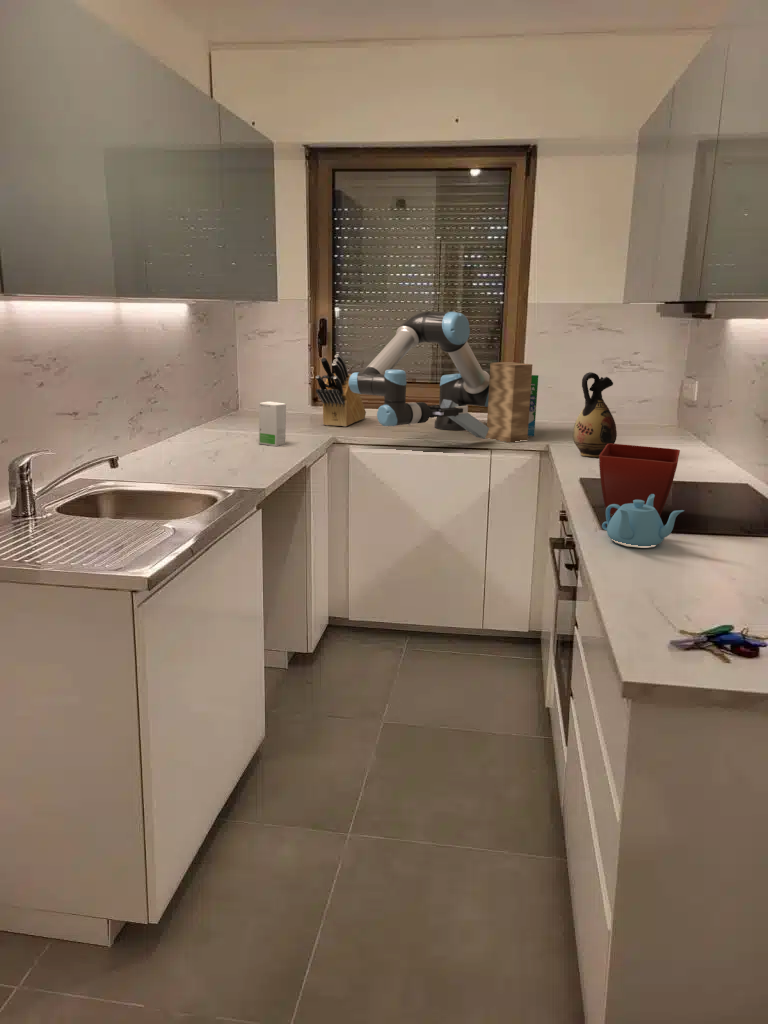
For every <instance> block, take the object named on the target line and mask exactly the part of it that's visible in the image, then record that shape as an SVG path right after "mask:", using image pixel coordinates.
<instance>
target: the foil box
mask: <svg viewBox="0 0 768 1024" xmlns="http://www.w3.org/2000/svg"><path fill="white" fill-rule="evenodd" d="M454 407H459V406H458V405H457V404H456V403H454V402H453V401H451V400H445V399H443V401H442V403H441V406H440V408H454ZM447 417H449V418H450V419H452V420H453V421H454V422H456V423H457V424H459V425H460V426H462V427H463V428H464V429H465V430H466V431H467V432H469V433H470V434H472V435H473V436H474V437H475V438H480V439H486V435H487V433H488V430H489V428H488V427H487V424H485V423H483V422H481V420H479V419H477V418H476V417H475V416H474V415H472V414H471V413H469V412H468V413H464V414H459V415H457V416H456V417H455V416H447Z"/></svg>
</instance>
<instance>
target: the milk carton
mask: <svg viewBox="0 0 768 1024" xmlns="http://www.w3.org/2000/svg"><path fill="white" fill-rule="evenodd" d="M538 385H539V375H537V374H532V379H531V394H530V408H529V423H528V437H535V432H536V431H535V429H536V428H535V427H536V417H537V415H536V414H537V399H538V387H539V386H538Z"/></svg>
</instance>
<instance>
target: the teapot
mask: <svg viewBox="0 0 768 1024" xmlns="http://www.w3.org/2000/svg"><path fill="white" fill-rule="evenodd" d="M654 497H655V495H654V494H651V495H649V497H648V499H647V502H646V505H645V504H644V503H645V501H643V500H633V503H628V504H623V505H622V506H619V505H617V504H611V505H609V506H608V507H607V508H606V509H605V520H606V521H604V522H603V523H602V524H601V528H602V529H603V531H606V534H607V536H608V537H610V538H611V539H613V540H615V541H618V542H622V543H626V544H631V545H638V546H651V545H657V544H659V543H660V544H661V543H662V542H663V541H664V540H665V538H667V537H668V536H670V535H671V533H672V531H673V530H674V527H675V522H676V518H677V517H678V515H680V514H682V513H683V512H685V509H684V510H683V509H680V510H679V509H678V510H673V511H672V512H671V513H670V514H669V517H668V519H667V522H666V524H664V523H663V521H662V517H661V515H660V516H659V514H658V512H657V511H656V509H655V508H654V507H653V501H654ZM612 507H614V508H617V509H618V510H617V511H616V512H615V514H614V515H613V516H610V509H611V508H612ZM610 538H609V539H610ZM611 539H610V540H611ZM660 544H659V545H660ZM657 546H658V545H657Z"/></svg>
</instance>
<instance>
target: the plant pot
mask: <svg viewBox="0 0 768 1024" xmlns="http://www.w3.org/2000/svg"><path fill="white" fill-rule="evenodd" d="M680 452H681V450H680V449H679V448H678V449H676V448H668V447H667V448H665V447H657V446H644V445H634V444H631V445H630V444H622V443H614V444H612V443H610V444H607V445H606V446H605V448H604V449H603V451H602V452H601V453H600V455H599V457H598V461H599V462H598V463H599V464H598V466H599V477H600V485H601V487H600V488H601V493H602V499H603V503H604V504H603V505H604V509H605V510H606V508H607V507H608V506H609V505H611V504H617V505H619V506H622V505H623V504H628V503H633V500H643V501H645V503H644V504H645V505H646V502H647V499H648V497H649V495H651V494H654V495H655V497H654V501H653V507H654V508H655V509H656V511H657V512H658V514H659V516H660V517H661V514H662V512H663V509H664V507H665V505H666V503H667V500H668V497H669V494H670V492H671V489H672V486H673V482H674V479H675V475H676V471H677V468H678V463H679V458H680ZM617 510H618V509H617V508H614V507H612V508H611V509H610V513H611V514H615V512H616V511H617Z"/></svg>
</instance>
